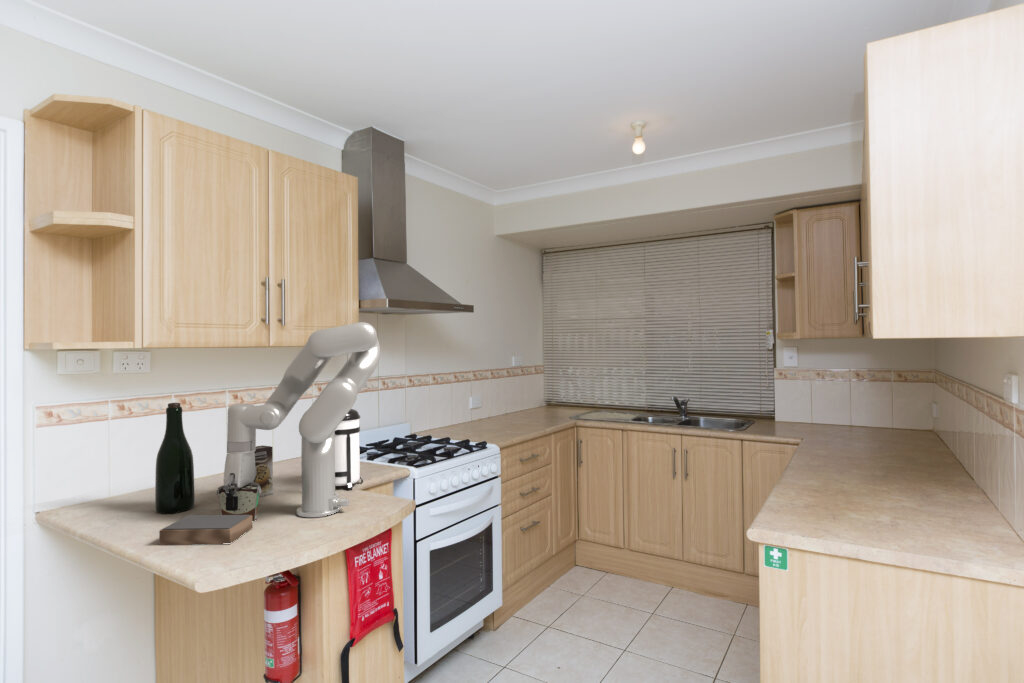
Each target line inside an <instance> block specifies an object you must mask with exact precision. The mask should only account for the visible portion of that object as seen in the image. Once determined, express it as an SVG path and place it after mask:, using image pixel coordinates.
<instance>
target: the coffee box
mask: <svg viewBox="0 0 1024 683" xmlns="http://www.w3.org/2000/svg"><path fill="white" fill-rule="evenodd" d="M254 453H255V470H257V473H256V480H255V483H258V484H259V486H260V487H261V493H260V494H259V498H260V496H261V497H265V496H264V495H266V496H269V494H270V495H273V494H274V487H273V486H274V484H273V482H274V480H273V477H274V475H273V474H274V470H273V465H274V464H273V459H274V458H273V456H274V455H273V446H271V445H270V446H269V445H256V451H255V452H254Z"/></svg>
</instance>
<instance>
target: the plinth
mask: <svg viewBox="0 0 1024 683" xmlns="http://www.w3.org/2000/svg"><path fill="white" fill-rule="evenodd" d="M251 528H253V522H252V515H221V514H203V515H201V514H199V515H197V514H196V515H195V514H190V515H189V514H188V515H186V516H184V517H182V518H180V519H178V520H177V521H175V522H173V523H171V524H169V525H167V526H165V527H163V528H161V529H160V530H159V532H158V533H159V546H193V545H192V544H223V543H231V542H233V541H234V540H236V539H237V538H239V537H240V536H241V535H243V534H244V533H245V532H247V531H249V530H250V529H251ZM251 530H252V529H251ZM251 530H250V531H251ZM250 531H249V532H250ZM247 533H248V532H247ZM244 535H245V534H244ZM244 535H243V536H244ZM241 537H242V536H241ZM241 537H240V538H241ZM240 538H239V539H240ZM237 540H238V539H237ZM237 540H236V541H237ZM234 542H235V541H234ZM234 542H233V543H234ZM190 544H191V545H190Z"/></svg>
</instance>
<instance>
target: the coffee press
mask: <svg viewBox="0 0 1024 683" xmlns="http://www.w3.org/2000/svg"><path fill="white" fill-rule="evenodd" d="M360 418H361V415H360V413H359V412H358V411H357V409H353V408H351V410H350V411H349V412H348V414H347V415H346V416H345V417H344V419H343V420H342V421H341V423H340V424H339V425H338V427H337V428H336V429H335V487H342V486H343V487H346V490H347V491H352V490H353V484H356V483H358V484H363V483H364V479H363V478H362V477H361V473H360V472H361V471H360V470H361V468H360V467H361V465H360V464H361V462H360V461H361V460H360V459H361V458H360V457H361V456H360V455H361V454H360V452H361V451H360V450H361V449H360V432H361V426H360ZM359 480H361V481H360V482H359Z"/></svg>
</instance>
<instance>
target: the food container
mask: <svg viewBox="0 0 1024 683" xmlns="http://www.w3.org/2000/svg"><path fill="white" fill-rule="evenodd" d="M232 490H233V491H234V490H235V489H232ZM260 493H261V487H260V486H259V484H258V483H253V482H251V483H250V484H248V485H246V486H244V487H242V488H239V490H238V493H237V496H238V510H237V511H226V497H225V493H224V487H223V485H221V486H218V487H217V490H216V493H215V495H216V496H217V495H218V502H219V510H220V515H252V521H255V520H256V521H257V515H258V508H259V499H260V497H259V494H260ZM256 521H255V522H256Z"/></svg>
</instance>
